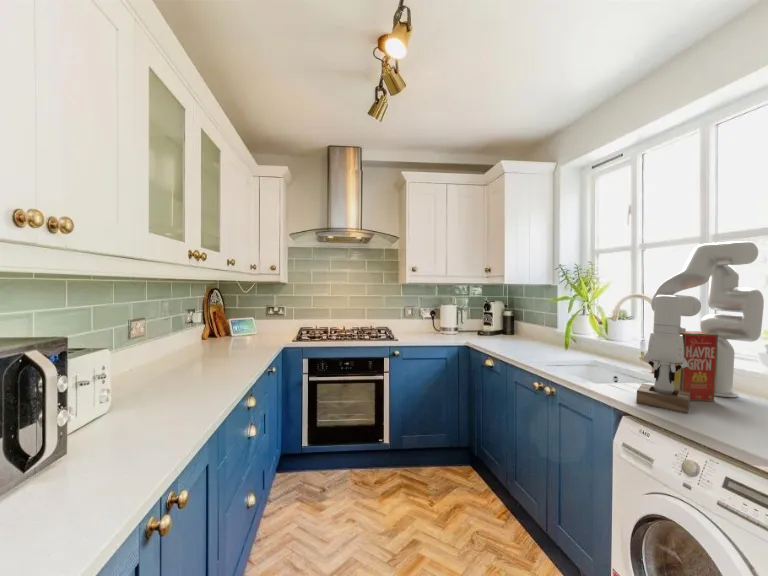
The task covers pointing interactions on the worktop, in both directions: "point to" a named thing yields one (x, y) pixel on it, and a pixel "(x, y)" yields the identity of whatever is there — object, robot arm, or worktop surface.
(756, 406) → the worktop surface
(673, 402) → the socket block
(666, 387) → the salt shaker
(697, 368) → the food packaging
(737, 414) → the worktop surface
